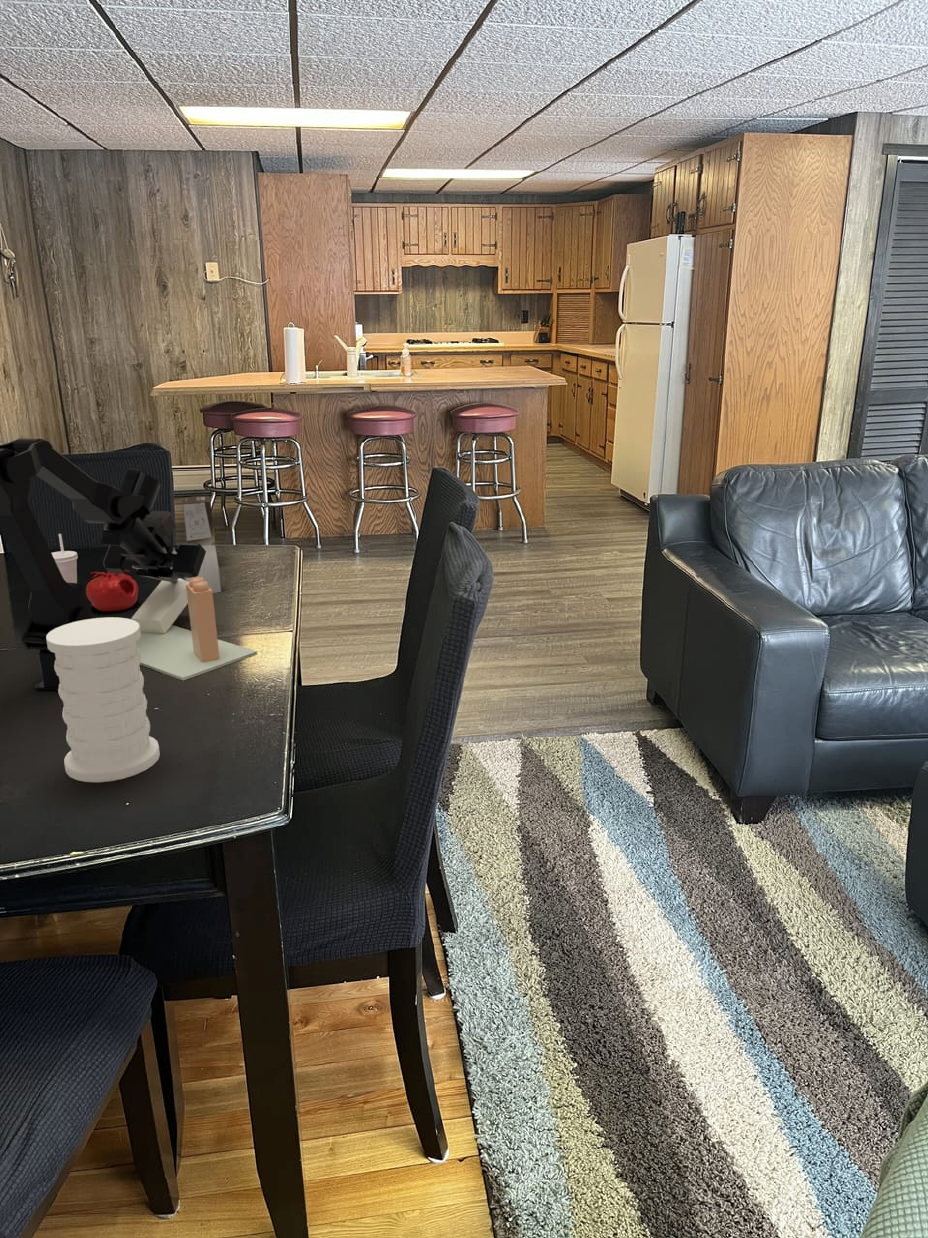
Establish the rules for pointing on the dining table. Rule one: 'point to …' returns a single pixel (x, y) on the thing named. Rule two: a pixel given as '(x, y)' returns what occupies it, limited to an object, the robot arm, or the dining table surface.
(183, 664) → the mat
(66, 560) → the smoothie
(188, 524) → the coffee box
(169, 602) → the tile one
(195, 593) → the orange rectangular block
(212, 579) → the pale grey upright block
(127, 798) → the dining table surface
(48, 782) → the dining table surface
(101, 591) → the red tomato
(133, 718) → the decorative container
